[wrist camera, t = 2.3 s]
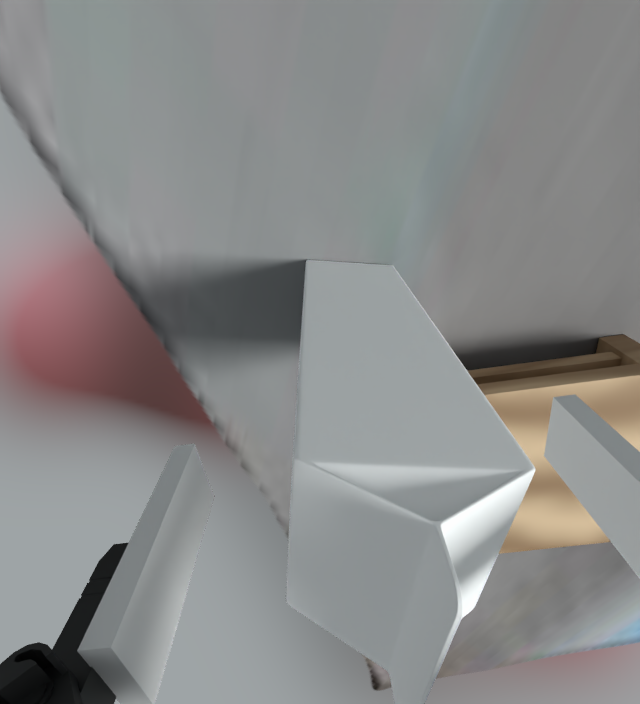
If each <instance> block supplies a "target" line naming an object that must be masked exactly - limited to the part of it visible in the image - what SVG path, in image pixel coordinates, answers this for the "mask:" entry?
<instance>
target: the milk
mask: <svg viewBox="0 0 640 704" xmlns="http://www.w3.org/2000/svg"><path fill="white" fill-rule="evenodd" d="M534 473H535V467H534V465H533V464H532V462H531V461H530V459H529V458H528V456H527V455H526V454H525V452H524V451H523V449H522V448H521V446H520V445H519V444H518V442H517V441H516V439H515V438H514V437H513V435H512V434H511V432H510V431H509V429H508V428H507V427H506V425H505V424H504V422H503V421H502V420H501V418H500V417H499V415H498V414H497V412H496V411H495V410H494V408H493V407H492V405H491V404H490V402H489V401H488V400H487V398H486V397H485V395H484V394H483V393H482V391H481V390H480V388H479V387H478V385H477V384H476V383H475V381H474V380H473V378H472V377H471V376H470V374H469V373H468V371H467V370H466V368H465V367H464V366H463V364H462V363H461V361H460V360H459V358H458V357H457V356H456V354H455V353H454V351H453V350H452V349H451V347H450V346H449V344H448V343H447V341H446V340H445V339H444V337H443V336H442V334H441V333H440V332H439V330H438V329H437V327H436V326H435V324H434V323H433V322H432V320H431V319H430V317H429V316H428V314H427V313H426V312H425V310H424V309H423V307H422V306H421V305H420V303H419V302H418V300H417V299H416V297H415V296H414V295H413V293H412V292H411V290H410V289H409V288H408V286H407V285H406V283H405V282H404V280H403V279H402V278H401V276H400V275H399V273H398V272H397V270H396V269H395V268H394V266H393V265H381V264H365V263H350V262H334V261H319V260H306V266H305V281H304V296H303V310H302V325H301V339H300V354H299V369H298V383H297V398H296V413H295V427H294V442H293V456H292V478H291V499H290V521H289V542H288V544H289V545H288V564H287V565H288V566H287V586H286V601H287V604H288V605H289V606H291V607H292V608H294V609H295V610H296V611H298V612H300V613H301V614H302V615H304V616H305V617H307V618H309V619H310V620H312V621H313V622H314V623H316V624H317V625H319V626H321V627H322V628H323V629H325V630H327V631H328V632H330V633H331V634H333V635H334V636H336V637H337V638H339V639H340V640H342V641H343V642H345V643H346V644H348V645H349V646H351V647H352V648H354V649H355V650H357V651H358V652H360V653H361V654H363V655H364V656H366V657H367V658H369V659H370V660H372V661H373V662H375V663H376V664H378V665H379V666H381V667H382V668H384V669H385V670H386V671H388V673H389V675H390V680H391V686H392V692H393V699H394V704H425V702H426V700H427V697H428V695H429V693H430V690H431V688H432V686H433V683H434V681H435V679H436V677H437V674H438V672H439V670H440V667H441V665H442V663H443V660H444V658H445V656H446V653H447V651H448V649H449V646H450V644H451V642H452V639H453V637H454V635H455V632H456V630H457V628H458V625H459V623H460V621H461V619H462V618H463V617H464V616H465V615H467V614H468V613H469V612H470V611H471V610H473V608H474V607H475V605H476V603H477V601H478V598H479V596H480V594H481V592H482V589H483V587H484V585H485V583H486V581H487V578H488V576H489V574H490V572H491V569H492V567H493V565H494V563H495V560H496V558H497V556H498V554H499V551H500V549H501V547H502V545H503V543H504V540H505V538H506V536H507V534H508V531H509V529H510V527H511V525H512V522H513V520H514V518H515V516H516V513H517V511H518V509H519V507H520V504H521V502H522V500H523V498H524V496H525V493H526V491H527V489H528V487H529V484H530V482H531V480H532V478H533V475H534Z"/></svg>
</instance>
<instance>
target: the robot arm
mask: <svg viewBox="0 0 640 704" xmlns="http://www.w3.org/2000/svg"><path fill="white" fill-rule="evenodd" d="M544 457H545V458H546V459H547V460H548V462H549V463H550V464H551V466H552V467H553V468H554V469H555V471H556V472H557V473H558V475H559V476H560V477H561V478H562V480H563V481H564V482H565V483H566V485H567V486H568V487H569V489H570V490H571V491H572V492H573V494H574V495H575V496H576V498H577V499H578V500H579V501H580V503H581V504H582V505H583V507H584V508H585V509H586V510H587V512H588V513H589V514H590V516H591V517H592V518H593V519H594V521H595V522H596V523H597V524H598V526H599V527H600V528H601V530H602V531H603V532H604V533H605V535H606V536H607V537H608V539H609V540H610V541H611V542H612V544H613V545H614V546H615V548H616V549H617V550H618V551H619V553H620V554H621V555H622V557H623V558H624V559H625V560H626V562H627V563H628V564H629V565H630V567H631V568H632V569H633V571H634V572H635V573H636V574H637V576H638V577H639V578H640V452H639V451H638V450H637V449H636V448H635V447H633V446H632V445H631V444H630V443H629V442H628V441H627V440H626V439H625V438H623V437H622V436H621V435H620V434H619V433H618V432H617V431H616V430H614V429H613V428H612V427H611V426H610V425H609V424H608V423H607V422H606V421H604V420H603V419H602V418H601V417H600V416H599V415H598V414H597V413H595V412H594V411H593V410H592V409H591V408H590V407H589V406H588V405H587V404H585V403H584V402H583V401H582V400H581V399H580V398H579V397H578V396H576V395H575V394H574V395H566V396H559V397H553V402H552V408H551V414H550V421H549V427H548V433H547V440H546V446H545V452H544ZM214 497H215V496H214V493H213V491H212V488H211V485H210V483H209V480H208V478H207V475H206V472H205V470H204V467H203V464H202V462H201V459H200V457H199V454H198V451H197V449H196V446H195V444H189V445H181V446H175V447H174V449H173V451H172V453H171V455H170V457H169V460H168V461H167V464H166V466H165V468H164V470H163V472H162V474H161V476H160V478H159V481H158V483H157V485H156V487H155V489H154V491H153V493H152V495H151V497H150V500H149V502H148V503H147V506H146V508H145V510H144V512H143V514H142V516H141V518H140V520H139V522H138V525H137V526H136V529H135V531H134V533H133V535H132V537H131V539H130V541H129V543H123V544H114V545H113V546H112V547H111V548H110V550H109V551H108V552H107V553H106V554H105V555H104V556H103V557H102V559H101V560H100V561H99V562H98V564H97V566H96V568H95V570H94V572H93V574H92V576H91V577H90V582H89V583H87V585H86V587H85V589H84V591H83V593H82V594H81V595H82V597H81V599H79V600H78V602H77V604H76V606H75V608H74V610H73V611H72V613H71V615H70V617H69V619H68V621H67V623H66V625H65V627H64V628H63V631H62V633H61V634H60V636H59V638H58V640H57V642H56V644H55V646H54V647H53V649H52V650H51V649H50V647H49V646H48V645H46V644H42V643H34V644H30V645H27V646H25V647H23V648H21V649H20V650H18V651H16V652H14V653H13V654H12V655H11V656H9V657H8V658H7V659H6V660H5V661H4V662H2V663H1V664H0V704H114V702H115V699H117V700H118V701H119V702H120V704H155V701H156V698H157V694H158V691H159V687H160V684H161V680H162V677H163V673H164V670H165V667H166V663H167V659H168V656H169V653H170V649H171V646H172V642H173V639H174V635H175V632H176V628H177V625H178V621H179V618H180V614H181V611H182V608H183V604H184V601H185V597H186V594H187V590H188V587H189V583H190V580H191V576H192V573H193V569H194V566H195V563H196V559H197V556H198V552H199V549H200V545H201V542H202V538H203V535H204V531H205V528H206V524H207V521H208V517H209V514H210V510H211V507H212V504H213V500H214Z"/></svg>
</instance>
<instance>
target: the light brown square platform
mask: <svg viewBox="0 0 640 704" xmlns="http://www.w3.org/2000/svg"><path fill="white" fill-rule="evenodd" d="M468 373H469V374H470V376H471V377H472V378H473V380H474V381H475V383H476V384H477V385H478V387H479V388H480V390H481V391H482V393H483V394H484V395H485V397H486V398H487V400H488V401H489V402H490V404H491V405H492V407H493V408H494V410H495V411H496V412H497V414H498V415H499V417H500V418H501V420H502V421H503V422H504V424H505V425H506V427H507V428H508V429H509V431H510V432H511V434H512V435H513V437H514V438H515V439H516V441H517V442H518V444H519V445H520V446H521V448H522V449H523V451H524V452H525V454H526V455H527V456H528V458H529V459H530V461H531V462H532V464H533V465H534V467H535V473H534V475H533V478H532V480H531V482H530V484H529V487H528V489H527V491H526V493H525V496H524V498H523V500H522V502H521V504H520V507H519V509H518V511H517V513H516V516H515V518H514V520H513V522H512V525H511V527H510V529H509V531H508V534H507V536H506V538H505V540H504V543H503V545H502V547H501V549H500V551H499V554H500V553H510V552H519V551H528V550H538V549H547V548H557V547H566V546H576V545H585V544H595V543H604V542H611V541H610V540H609V539H608V537H607V536H606V535H605V533H604V532H603V531H602V530H601V528H600V527H599V526H598V524H597V523H596V522H595V521H594V519H593V518H592V517H591V516H590V514H589V513H588V512H587V510H586V509H585V508H584V507H583V505H582V504H581V503H580V501H579V500H578V499H577V498H576V496H575V495H574V494H573V492H572V491H571V490H570V489H569V487H568V486H567V485H566V483H565V482H564V481H563V480H562V478H561V477H560V476H559V475H558V473H557V472H556V471H555V469H554V468H553V467H552V466H551V464H550V463H549V462H548V460H547V459H546V458H545V457H544V452H545V446H546V440H547V433H548V427H549V421H550V414H551V408H552V402H553V397H559V396H566V395H574V394H575V395H576V396H578V397H579V398H580V399H581V400H582V401H583V402H584V403H585V404H587V405H588V406H589V407H590V408H591V409H592V410H593V411H594V412H595V413H597V414H598V415H599V416H600V417H601V418H602V419H603V420H604V421H606V422H607V423H608V424H609V425H610V426H611V427H612V428H613V429H614V430H616V431H617V432H618V433H619V434H620V435H621V436H622V437H623V438H625V439H626V440H627V441H628V442H629V443H630V444H631V445H632V446H633V447H635V448H636V449H637V450H638V451H639V452H640V344H639V343H638V342H636V341H634V340H633V339H631V338H629V337H627V336H626V335H624V334H623V335H616V336H608V337H601V338H599V341H598V345H597V350H596V354H590V355H582V356H575V357H567V358H559V359H552V360H544V361H537V362H529V363H521V364H514V365H506V366H499V367H491V368H483V369H476V370H468Z"/></svg>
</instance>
